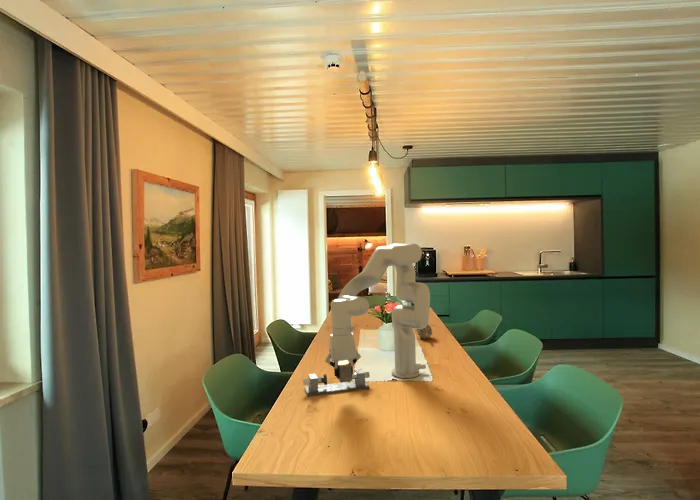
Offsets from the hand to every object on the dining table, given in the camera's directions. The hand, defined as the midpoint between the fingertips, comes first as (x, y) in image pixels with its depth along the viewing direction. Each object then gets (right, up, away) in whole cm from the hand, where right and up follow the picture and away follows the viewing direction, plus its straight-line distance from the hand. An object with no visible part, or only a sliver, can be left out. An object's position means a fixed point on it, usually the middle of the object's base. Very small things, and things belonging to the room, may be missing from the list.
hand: (343, 376), depth 157 cm
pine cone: (+48, -5, +87) cm, 99 cm away
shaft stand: (-3, -9, +10) cm, 14 cm away
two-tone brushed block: (0, -1, 0) cm, 1 cm away
